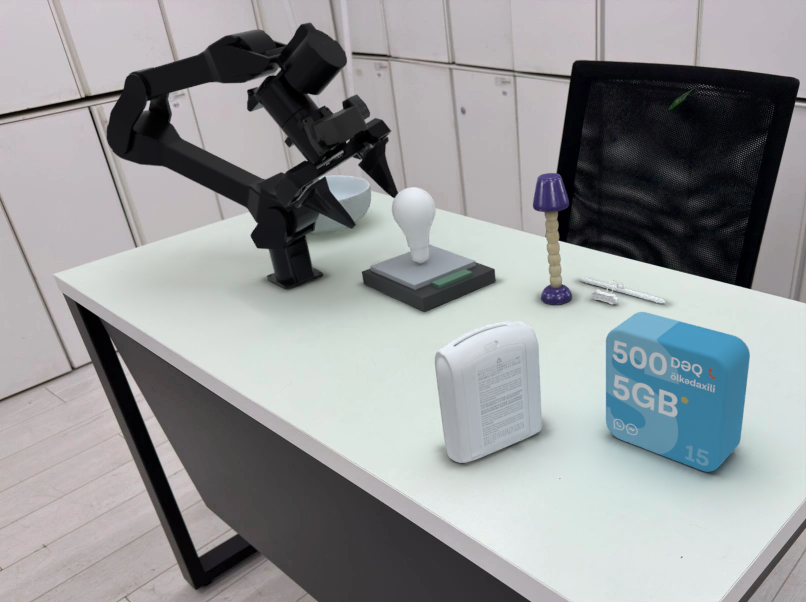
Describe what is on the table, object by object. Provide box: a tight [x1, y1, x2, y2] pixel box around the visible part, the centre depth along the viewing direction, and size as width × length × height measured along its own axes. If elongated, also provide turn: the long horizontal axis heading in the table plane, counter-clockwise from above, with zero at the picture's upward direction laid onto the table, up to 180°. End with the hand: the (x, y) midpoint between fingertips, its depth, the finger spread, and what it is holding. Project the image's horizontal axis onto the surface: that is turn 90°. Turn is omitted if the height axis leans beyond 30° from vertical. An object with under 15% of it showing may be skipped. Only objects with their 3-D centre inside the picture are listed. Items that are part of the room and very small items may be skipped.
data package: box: [605, 311, 751, 473], centre depth 68 cm, size 12×4×12 cm, turn 51°
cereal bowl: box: [309, 174, 372, 235], centre depth 132 cm, size 17×17×7 cm
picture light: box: [579, 277, 666, 305], centre depth 100 cm, size 14×4×2 cm, turn 48°
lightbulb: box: [391, 186, 437, 264], centre depth 105 cm, size 6×6×11 cm
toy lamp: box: [532, 172, 573, 305], centre depth 97 cm, size 5×5×17 cm
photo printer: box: [434, 320, 543, 464], centre depth 70 cm, size 10×4×12 cm, turn 123°
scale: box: [361, 243, 497, 312], centre depth 108 cm, size 15×13×3 cm
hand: (375, 211), depth 103 cm, fingers open, 9 cm apart
